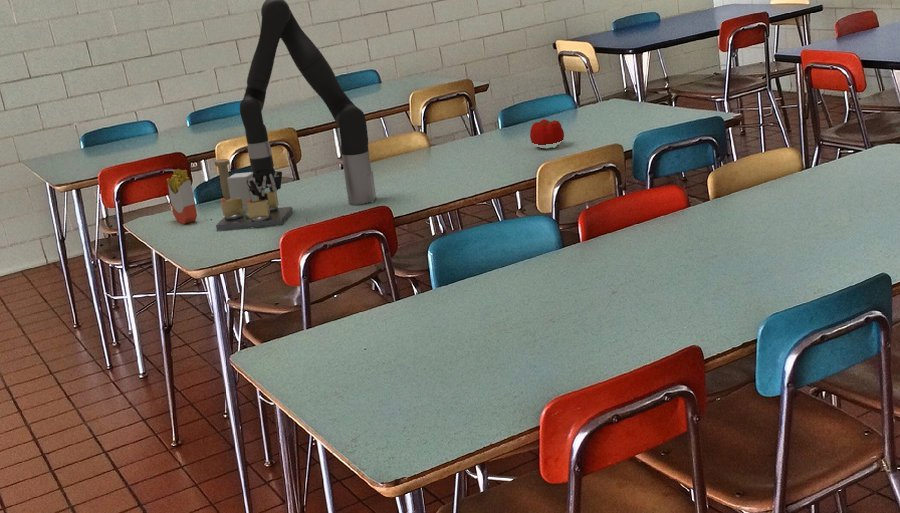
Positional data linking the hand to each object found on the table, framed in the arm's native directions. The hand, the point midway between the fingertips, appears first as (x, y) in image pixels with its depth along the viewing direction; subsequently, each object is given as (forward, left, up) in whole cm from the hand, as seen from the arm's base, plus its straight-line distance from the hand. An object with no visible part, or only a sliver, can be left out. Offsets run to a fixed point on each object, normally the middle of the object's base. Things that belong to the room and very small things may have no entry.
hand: (269, 204), depth 353 cm
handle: (+23, -29, -4) cm, 37 cm away
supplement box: (+12, -12, -4) cm, 17 cm away
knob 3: (0, 0, -2) cm, 2 cm away
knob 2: (0, +12, -2) cm, 12 cm away
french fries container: (+31, -3, -4) cm, 31 cm away
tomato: (-95, -69, -4) cm, 118 cm away
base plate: (+4, +6, -4) cm, 8 cm away
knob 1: (+11, +6, -2) cm, 13 cm away
